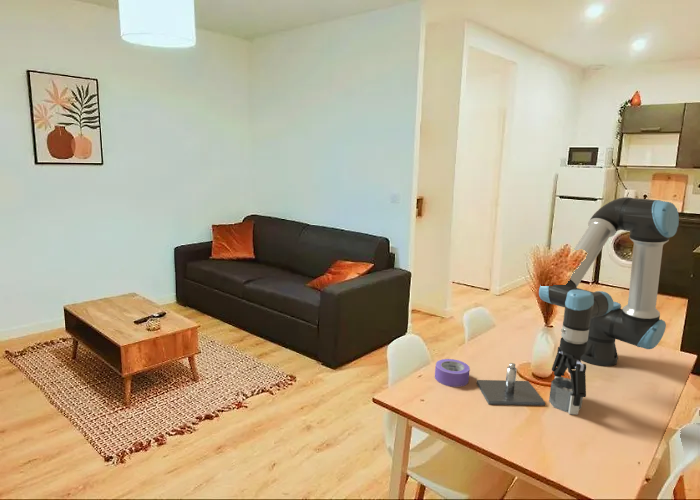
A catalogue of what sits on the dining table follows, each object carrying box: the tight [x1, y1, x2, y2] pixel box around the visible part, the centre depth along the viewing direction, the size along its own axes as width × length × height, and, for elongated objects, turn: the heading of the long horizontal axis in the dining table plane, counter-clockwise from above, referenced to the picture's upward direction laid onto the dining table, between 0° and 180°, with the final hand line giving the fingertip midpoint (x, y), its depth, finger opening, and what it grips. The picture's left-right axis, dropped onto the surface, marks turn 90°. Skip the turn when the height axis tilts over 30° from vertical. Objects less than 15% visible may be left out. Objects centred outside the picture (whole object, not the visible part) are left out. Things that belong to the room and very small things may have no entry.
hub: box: [548, 377, 584, 413], centre depth 150 cm, size 9×9×7 cm
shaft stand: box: [476, 362, 546, 407], centre depth 155 cm, size 18×14×11 cm
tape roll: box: [434, 358, 471, 388], centre depth 165 cm, size 12×12×5 cm
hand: (564, 403), depth 151 cm, fingers open, 11 cm apart
